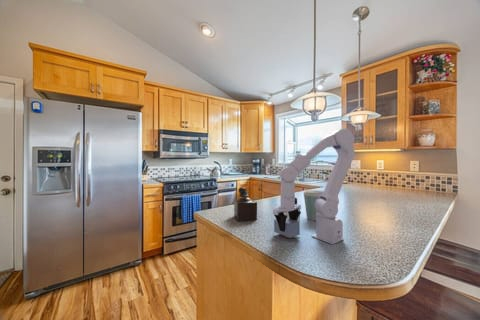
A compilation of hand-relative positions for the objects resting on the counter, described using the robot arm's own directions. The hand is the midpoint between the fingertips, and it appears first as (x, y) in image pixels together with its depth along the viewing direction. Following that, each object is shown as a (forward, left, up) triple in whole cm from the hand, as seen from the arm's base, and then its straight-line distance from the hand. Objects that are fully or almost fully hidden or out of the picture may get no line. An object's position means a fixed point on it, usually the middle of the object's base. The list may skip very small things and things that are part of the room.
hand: (287, 229), depth 83 cm
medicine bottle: (+13, -18, -3) cm, 23 cm away
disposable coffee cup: (+8, -30, -3) cm, 31 cm away
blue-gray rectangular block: (0, 0, -2) cm, 2 cm away
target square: (0, 0, -3) cm, 3 cm away
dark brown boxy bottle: (+28, 0, -3) cm, 29 cm away
